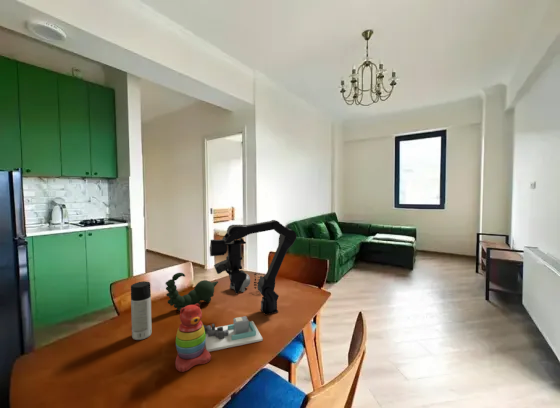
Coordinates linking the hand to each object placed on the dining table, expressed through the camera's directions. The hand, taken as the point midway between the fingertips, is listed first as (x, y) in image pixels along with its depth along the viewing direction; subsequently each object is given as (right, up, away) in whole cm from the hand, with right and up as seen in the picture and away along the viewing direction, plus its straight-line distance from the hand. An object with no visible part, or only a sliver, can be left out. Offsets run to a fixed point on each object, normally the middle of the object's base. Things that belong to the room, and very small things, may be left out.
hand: (234, 289), depth 116 cm
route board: (+2, -13, -15) cm, 20 cm away
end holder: (+5, -13, -14) cm, 19 cm away
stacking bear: (-9, -14, -28) cm, 33 cm away
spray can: (-33, -13, -15) cm, 38 cm away
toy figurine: (-21, -12, +11) cm, 26 cm away
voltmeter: (+5, -11, +32) cm, 34 cm away
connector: (+5, -12, -14) cm, 19 cm away
